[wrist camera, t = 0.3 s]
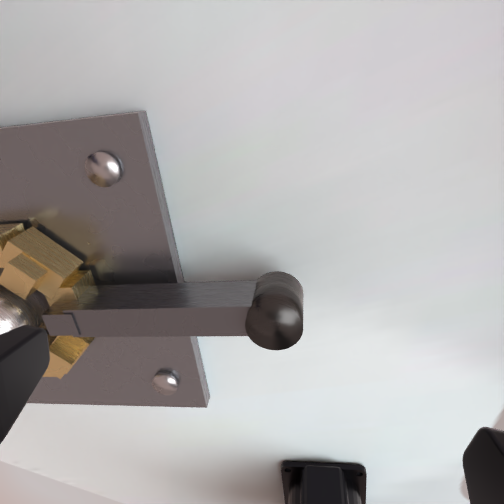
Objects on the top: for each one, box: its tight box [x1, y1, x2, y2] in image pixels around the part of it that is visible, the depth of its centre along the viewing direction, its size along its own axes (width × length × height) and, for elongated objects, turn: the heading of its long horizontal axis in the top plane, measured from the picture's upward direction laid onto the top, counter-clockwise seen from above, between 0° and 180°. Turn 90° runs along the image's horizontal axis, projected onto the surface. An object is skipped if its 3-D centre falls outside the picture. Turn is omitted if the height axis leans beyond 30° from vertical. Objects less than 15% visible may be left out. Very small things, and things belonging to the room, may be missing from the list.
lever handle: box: [0, 223, 303, 379], centre depth 21 cm, size 10×22×4 cm, turn 97°
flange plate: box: [0, 111, 210, 408], centre depth 22 cm, size 20×20×6 cm
